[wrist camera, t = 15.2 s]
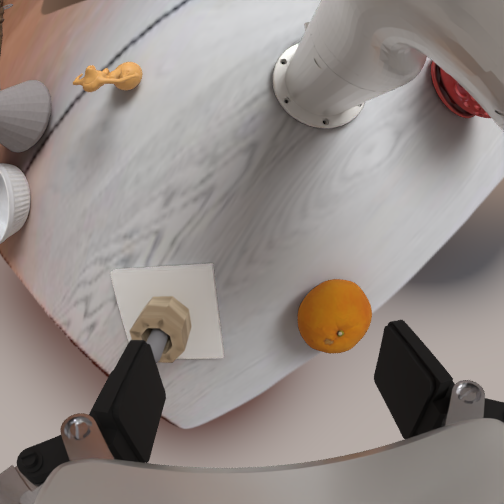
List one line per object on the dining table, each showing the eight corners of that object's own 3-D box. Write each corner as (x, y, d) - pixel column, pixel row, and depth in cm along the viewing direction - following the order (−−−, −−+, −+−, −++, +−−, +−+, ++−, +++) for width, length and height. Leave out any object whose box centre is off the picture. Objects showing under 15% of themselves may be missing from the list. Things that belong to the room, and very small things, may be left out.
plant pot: (479, 130, 33) (529, 130, 22) (424, 107, 33) (476, 97, 21) (475, 65, 30) (520, 54, 18) (420, 36, 29) (463, 12, 18)
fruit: (278, 304, 41) (285, 334, 34) (335, 257, 39) (355, 279, 32) (318, 345, 44) (331, 377, 36) (371, 304, 42) (392, 331, 34)
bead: (140, 296, 39) (125, 317, 33) (186, 296, 39) (178, 317, 33) (149, 337, 41) (138, 361, 35) (193, 338, 41) (187, 363, 35)
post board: (114, 268, 39) (80, 300, 29) (213, 263, 39) (203, 297, 29) (136, 352, 43) (116, 394, 33) (224, 352, 44) (220, 399, 33)
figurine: (164, 67, 31) (133, 33, 19) (153, 108, 33) (117, 88, 21) (110, 67, 30) (67, 40, 19) (100, 106, 32) (52, 91, 20)
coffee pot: (53, 151, 33) (-16, 155, 19) (8, 152, 32) (-56, 159, 18) (82, 24, 27) (31, -12, 13) (33, 37, 26) (-20, 15, 12)
